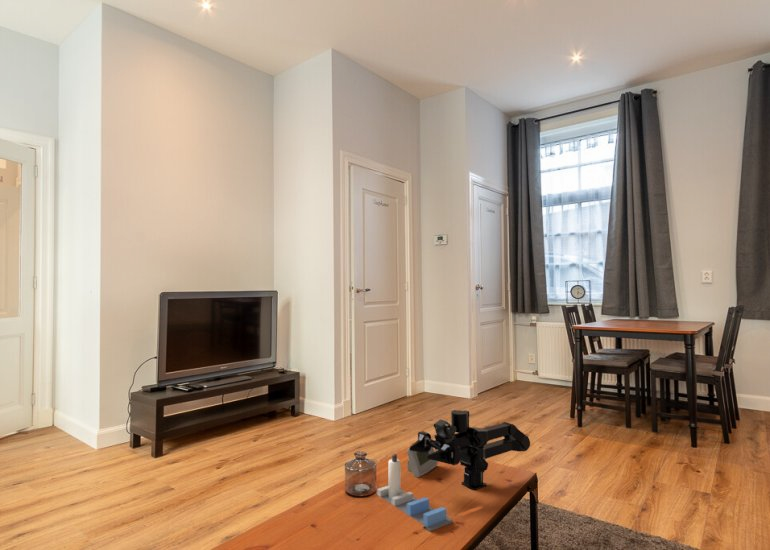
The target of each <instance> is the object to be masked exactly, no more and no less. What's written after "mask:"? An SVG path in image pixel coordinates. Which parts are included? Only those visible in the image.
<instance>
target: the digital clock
mask: <svg viewBox="0 0 770 550" xmlns="http://www.w3.org/2000/svg"><path fill="white" fill-rule="evenodd" d="M433 452H435V448H433V447H431V449H430V451H429V452H425V453H422V452H416V451H410V447H408V448H407V450H406V454H407V457H408V460H407V471H408V472H411V473H412V474H413V476H414V478H421V477H422V476H423V475H424V476H425V475H426V474H428V473H429V472H431V471H432V470H434V468H436V467H437V466H438V464H439V461H435V460H431V459H428V458H427V455H429V454H431V453H433Z"/></svg>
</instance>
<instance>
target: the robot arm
mask: <svg viewBox="0 0 770 550" xmlns="http://www.w3.org/2000/svg"><path fill="white" fill-rule="evenodd" d="M450 415H451V416H450V417H451V420H450V421H451V422H450V423H449V422H448V421H447V420H444V419H441V418H440V419H439V420H438V421H435V423H433V428H434V430H435V433H436V434H435V435H434V439H433V438H432V435H431V434H430V433H428V432H426V431H424V430H423V431H422V430H421V431H418V432H417V440H416V441H415V442H414V443H412V445H410V446H409V448H410V451H416V452H422V453H425V452H429V451H430V449H431V447H433V448H434V452H433V453H431V454H429V455H427V458H428V459H431V460H435V461H437V462H438V463H443V464H448V465H452V466H457V465H459V464H460V466H462V467H464V472H463V481H461V485H462V486H465V487H467V488H469V489H471V490H474V491H476V490H477V489H481V488H484V487H486V486H487V483H485V482H484V473H485V471H487V470H488V467H489V463H488V462H487V461H486V459H490V458H493V457H495V456H499V455H502V454H505V453H508V452H512V451H513V452H520V453H521V452H526V451H528V450H529V448H530V446H531V441H530V437H529V436H528V435H526V434H525V433H524V432H522V431H521V430H520V429H518V427H517V426H516V425H515V424H514V423H511V422H507V421H503V422H501V423H498V424H493V425H490V426H489V425H488V426H485V427H475V426H470V411H469V410H458V409H453V410H451V411H450ZM502 437H503V438H502ZM500 438H502V439H500ZM495 439H499V440H495ZM493 440H495V441H493ZM489 441H491V442H489Z"/></svg>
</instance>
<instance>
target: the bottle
mask: <svg viewBox="0 0 770 550" xmlns="http://www.w3.org/2000/svg"><path fill="white" fill-rule="evenodd" d="M401 464H402V463H401V460H400V459H399V458H398V454H396V453H392V454H391V459H390V458H389V460H388V467H387V468H388V469H387V471H388V485H387V486H388V498H389V499H390V500H391V498H392V497H395V496H398V495H401V490H402V489H401Z"/></svg>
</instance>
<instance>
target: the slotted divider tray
mask: <svg viewBox="0 0 770 550" xmlns="http://www.w3.org/2000/svg"><path fill="white" fill-rule="evenodd" d="M375 495H377V496H379V498H381V499H383V500H384V501H386V502H388V503H389V504H391V505H392V506H394V507H395V508H397V509H399V511H401V512H402V513H405V514H406V515H407V516H409V517H411V518H412V519H413V520H415V521H417V522H418V523H420V524H421V525H423V527H422V528H423V529H425V530H427V531H428V532H430V533H431V532H433V531H436V530H438V529H441V528H442V527H445V526H447V525H450V524H452V523H453V522H454V521H453V519H452V518H450V517H448V515H447V513H448V512H447V508H445V507H443V506H441V507H438V508H436V509H435V508H433V507H432V506H430V499H429V498H428V497H425V496H424V497H421V498H416V497H414V493H413V492H411V491H408V492H407V491H405V490H403V489H401V495H398V496H395V497H392V498H391V500H390V499H389V498H388V485H386V486H382V487H379V488H377V491H376V493H375Z"/></svg>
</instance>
